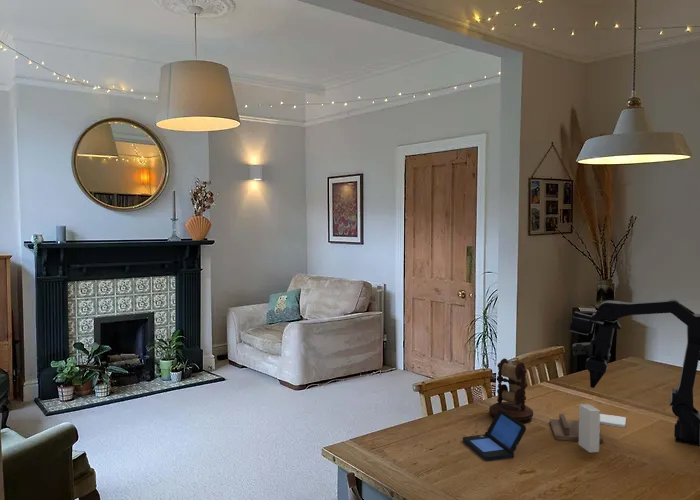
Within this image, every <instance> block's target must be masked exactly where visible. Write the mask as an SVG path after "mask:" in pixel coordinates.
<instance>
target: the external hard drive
mask: <svg viewBox="0 0 700 500" xmlns="http://www.w3.org/2000/svg"><path fill="white" fill-rule="evenodd" d="M626 422H627V417H626V416H619V415H611V414H605V413H604V414H603V413H600V425H605V426H613V427H618V428H623V429H624V428H626Z"/></svg>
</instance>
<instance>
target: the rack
mask: <svg viewBox="0 0 700 500" xmlns="http://www.w3.org/2000/svg"><path fill="white" fill-rule="evenodd" d="M549 424H550V427H551V429H552V434H553V436H554V439H555V440H560V441H561V440H562V441H571V442H572V441H573V442H579V420H572V419H571V420H569V419H567V418H566V416H565V414H564V413H559V414H558V418H557V419H556V418H555V419H554V418H549ZM599 444H604V438H603V436H602V434H601V433H600V434H599Z"/></svg>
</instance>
